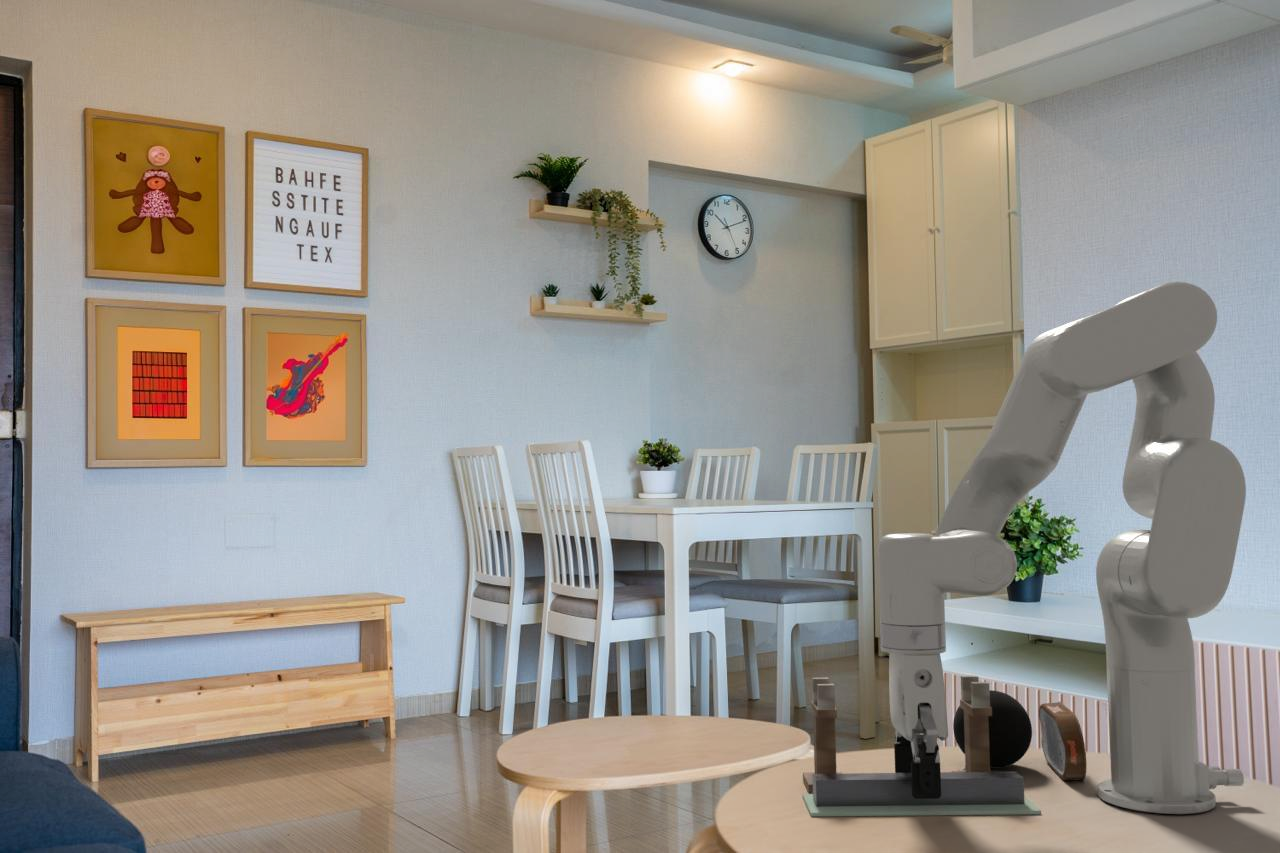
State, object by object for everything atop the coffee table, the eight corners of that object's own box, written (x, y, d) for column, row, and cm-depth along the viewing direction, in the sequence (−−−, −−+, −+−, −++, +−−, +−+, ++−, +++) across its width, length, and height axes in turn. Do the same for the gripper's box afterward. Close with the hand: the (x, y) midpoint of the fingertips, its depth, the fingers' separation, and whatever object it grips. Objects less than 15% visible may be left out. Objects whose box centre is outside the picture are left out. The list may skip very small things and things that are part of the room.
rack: (991, 778, 142) (987, 675, 143) (1005, 790, 136) (1001, 683, 137) (802, 780, 143) (800, 677, 144) (808, 792, 137) (806, 685, 138)
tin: (1089, 787, 137) (1087, 718, 138) (1063, 787, 138) (1060, 718, 138) (1061, 759, 152) (1059, 696, 153) (1037, 758, 153) (1035, 696, 153)
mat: (1019, 795, 134) (1018, 791, 134) (1041, 814, 126) (1041, 810, 126) (802, 797, 135) (802, 794, 135) (811, 816, 127) (810, 812, 127)
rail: (1016, 797, 132) (1015, 771, 132) (1024, 804, 129) (1023, 777, 129) (813, 799, 132) (812, 773, 133) (816, 806, 129) (815, 780, 130)
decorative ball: (1021, 758, 153) (1018, 684, 154) (1043, 776, 143) (1039, 697, 144) (947, 758, 154) (945, 684, 154) (963, 776, 144) (960, 697, 144)
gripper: (964, 647, 123) (969, 807, 122) (927, 629, 140) (932, 768, 139) (895, 648, 123) (900, 808, 122) (867, 629, 141) (871, 769, 140)
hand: (917, 786), depth 131 cm, fingers open, 8 cm apart
